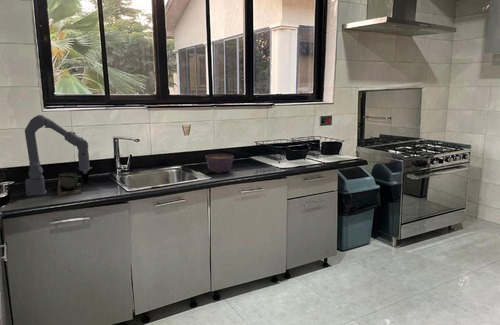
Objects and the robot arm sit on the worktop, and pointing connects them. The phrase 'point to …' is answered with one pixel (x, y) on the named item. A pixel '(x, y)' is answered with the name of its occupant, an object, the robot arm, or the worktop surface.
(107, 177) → the worktop surface
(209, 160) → the bowl of food
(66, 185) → the food container
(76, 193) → the tan piece
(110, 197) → the worktop surface
